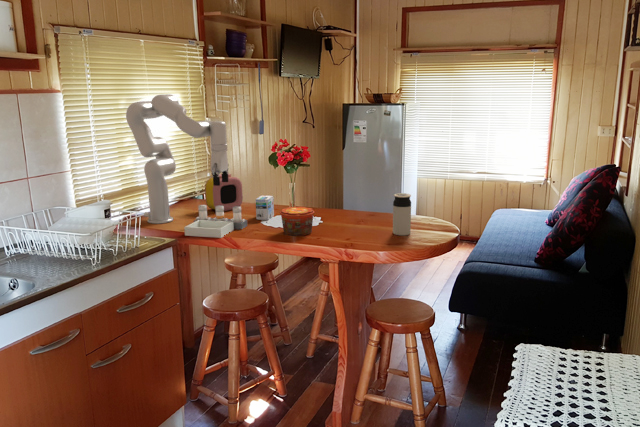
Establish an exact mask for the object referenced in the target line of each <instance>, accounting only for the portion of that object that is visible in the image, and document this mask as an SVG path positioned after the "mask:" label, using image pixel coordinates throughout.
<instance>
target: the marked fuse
mask: <svg viewBox="0 0 640 427" xmlns="http://www.w3.org/2000/svg"><path fill="white" fill-rule="evenodd" d="M215 209H216V210H215ZM215 209H214V210H215V218H216V221H224V219H225V211H224V206H215Z"/></svg>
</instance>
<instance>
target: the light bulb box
mask: <svg viewBox="0 0 640 427" xmlns="http://www.w3.org/2000/svg"><path fill="white" fill-rule="evenodd" d="M274 202H275V201H274V196H273V195H259V196H258V197H257V198H255V214H256V215H255V217H256V220H259V221H260V220H261V221H262V220H264V221H269V220H270V219H272V218H273V217H274V216H275V209H274V208H275V206H274V204H275V203H274Z"/></svg>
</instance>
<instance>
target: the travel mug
mask: <svg viewBox="0 0 640 427" xmlns="http://www.w3.org/2000/svg"><path fill="white" fill-rule="evenodd" d="M393 196H394V199H393V201H392V202H393V203H392V206H393V207H392V208H393V209H392V233H393V234H394V235H396V236H408V235H410V234H411V228H412V227H411V226H412V225H411V220H412V219H411V218H412V201H411V196H412V195H411V194H410V193H401V192H400V193H395V194H393Z"/></svg>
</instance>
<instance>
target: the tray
mask: <svg viewBox="0 0 640 427" xmlns="http://www.w3.org/2000/svg"><path fill="white" fill-rule="evenodd" d="M183 228H184V236H186V237H187V236H189V237H202V238H217V239H218V238H219V239H221V238H223V237H225V236H226V234H227V235H228V234H229V232H230V233H232V232H233V231H234V230H235V229H234V225H233V222H228V221H209V220H197V221H195V222H194V221H193V222H192V223H190V224H188V225H186V226H184V227H183ZM224 235H225V236H224Z"/></svg>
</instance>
